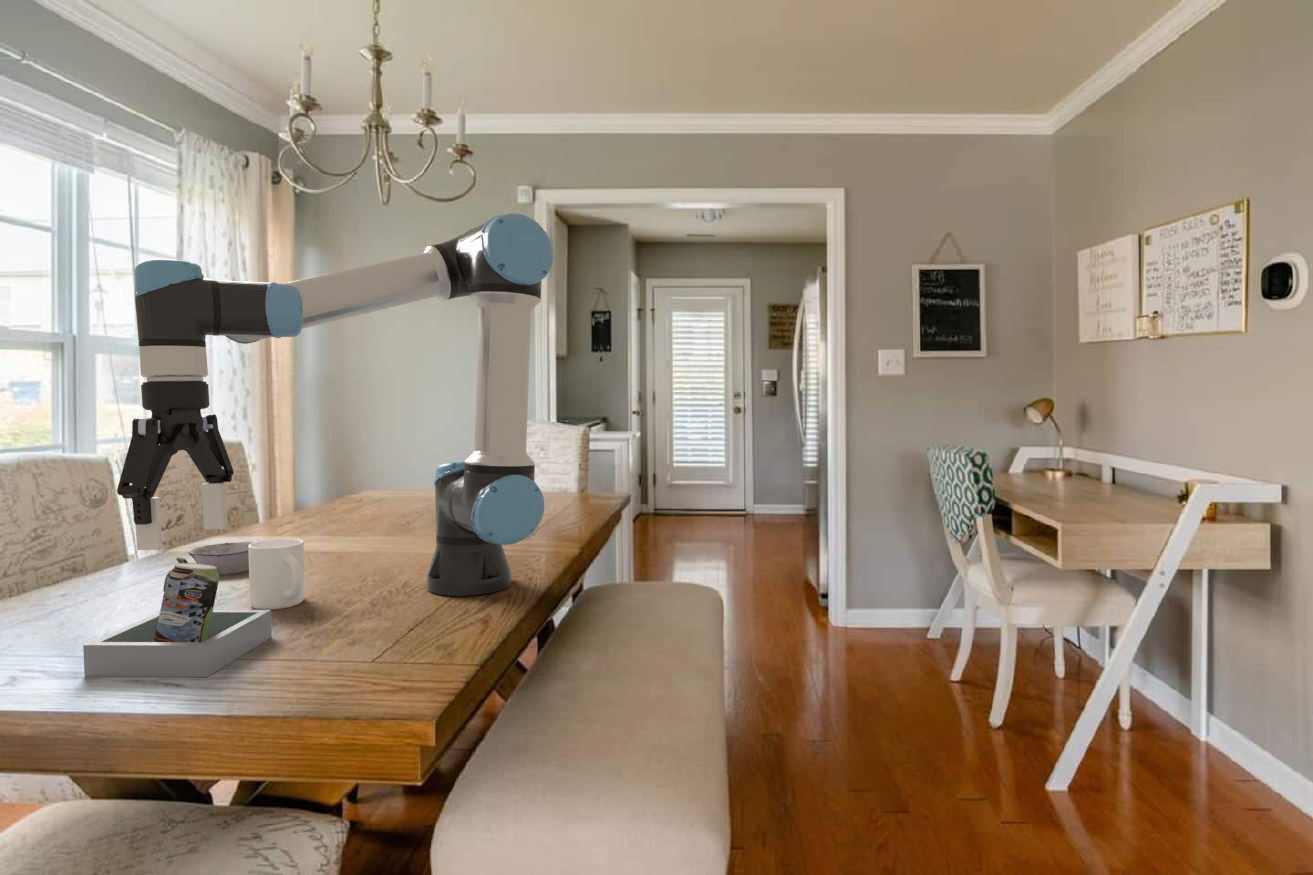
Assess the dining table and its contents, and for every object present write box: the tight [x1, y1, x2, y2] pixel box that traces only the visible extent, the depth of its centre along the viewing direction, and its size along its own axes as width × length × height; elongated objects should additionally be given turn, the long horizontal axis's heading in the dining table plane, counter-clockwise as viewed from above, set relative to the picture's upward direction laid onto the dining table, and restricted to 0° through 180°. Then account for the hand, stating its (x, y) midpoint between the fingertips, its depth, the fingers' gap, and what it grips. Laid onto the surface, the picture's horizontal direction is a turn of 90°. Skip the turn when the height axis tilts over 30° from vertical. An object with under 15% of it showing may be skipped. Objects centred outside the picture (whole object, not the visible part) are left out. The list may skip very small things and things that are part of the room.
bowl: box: [188, 541, 255, 576], centre depth 150 cm, size 13×13×5 cm
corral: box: [82, 609, 273, 678], centre depth 100 cm, size 15×15×4 cm
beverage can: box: [154, 562, 220, 642], centre depth 100 cm, size 6×7×12 cm
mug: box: [248, 538, 306, 611], centre depth 124 cm, size 12×8×10 cm
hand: (184, 538), depth 100 cm, fingers open, 13 cm apart
